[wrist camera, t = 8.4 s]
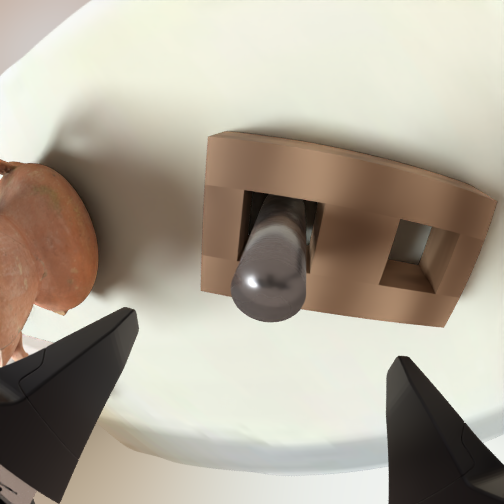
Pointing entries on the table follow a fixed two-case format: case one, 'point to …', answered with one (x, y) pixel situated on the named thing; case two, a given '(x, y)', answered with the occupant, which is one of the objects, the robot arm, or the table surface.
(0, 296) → the ceramic jug
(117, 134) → the table surface
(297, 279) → the peg
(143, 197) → the table surface
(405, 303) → the hole block
